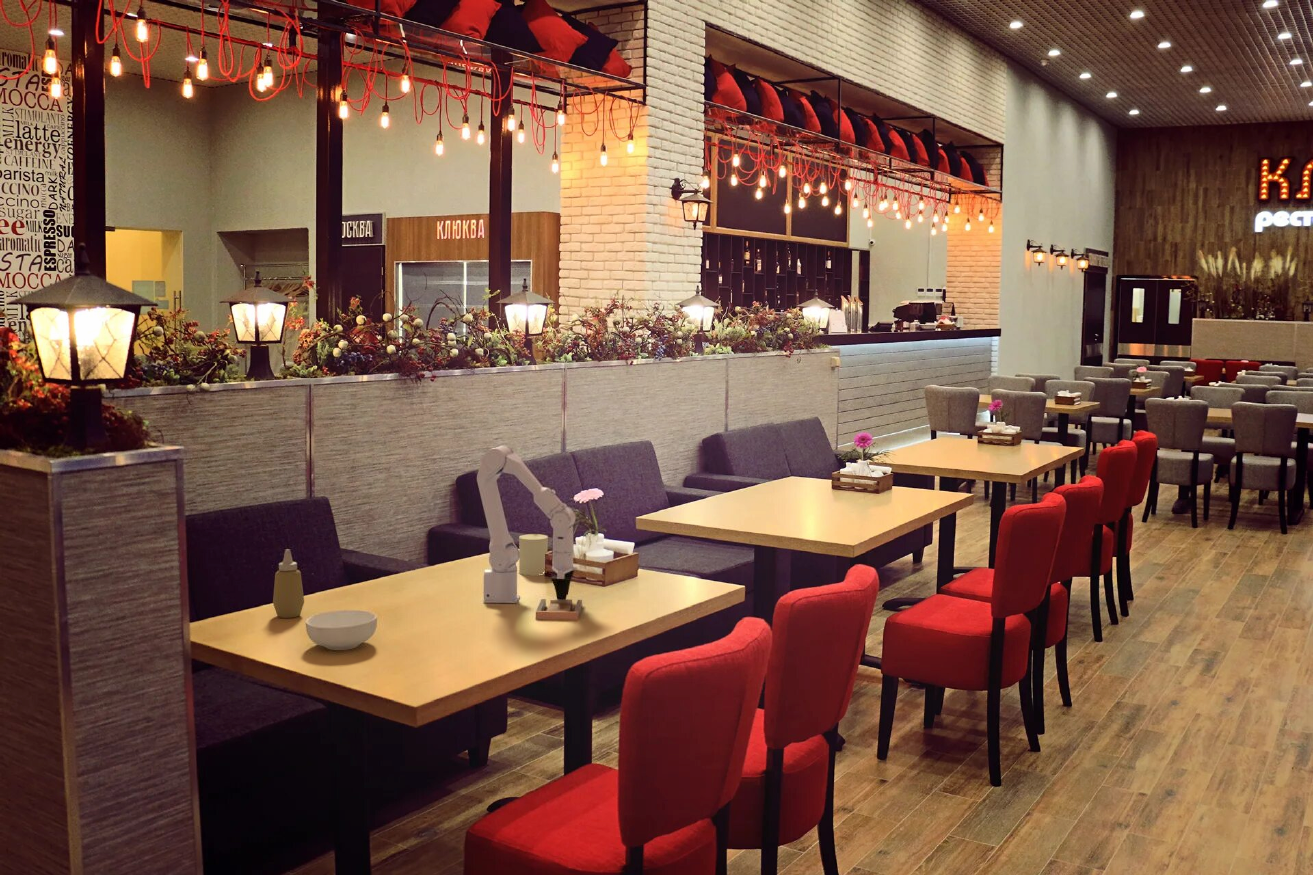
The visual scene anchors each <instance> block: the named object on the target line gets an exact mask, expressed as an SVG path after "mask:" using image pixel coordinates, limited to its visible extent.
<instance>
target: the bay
mask: <svg viewBox="0 0 1313 875" xmlns="http://www.w3.org/2000/svg"><path fill="white" fill-rule="evenodd" d="M575 604H576V605H575V608H574V611H571V610H570V611H547V610H545V608H546V607H547V599H546V598H542V599H540V601H539V604H538V606H537V608H536V611H535V620H566V621H568V620H569V621H571V620H572V621H575V620H576V621H578V620H579V617H580V615H581V612H582V608H583V600H582V599H577V602H576V603H575Z"/></svg>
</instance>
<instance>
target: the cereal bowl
mask: <svg viewBox="0 0 1313 875" xmlns="http://www.w3.org/2000/svg"><path fill="white" fill-rule="evenodd" d="M377 627H378V615H377V614H376V613H374V612H373V611H372V612H371V611H367V610H362V609H359V610H358V609H341V610H331V611H326V612H320V613H318V614H314V615H312V616H310V617H307V619H306V620H305V629H306V633H307V637H308V638H309V640H310V641H312V642H313V644H316V645H318V646H321V647H324V648H326V649H328V650H331V651H347V650H348V651H349V650H351V649H355V648H357V647H358V646H360V644H362V643H365V642H366V641H368V640H370V639H371V638H372V636H374V634H375V633H376V630H377Z"/></svg>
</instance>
